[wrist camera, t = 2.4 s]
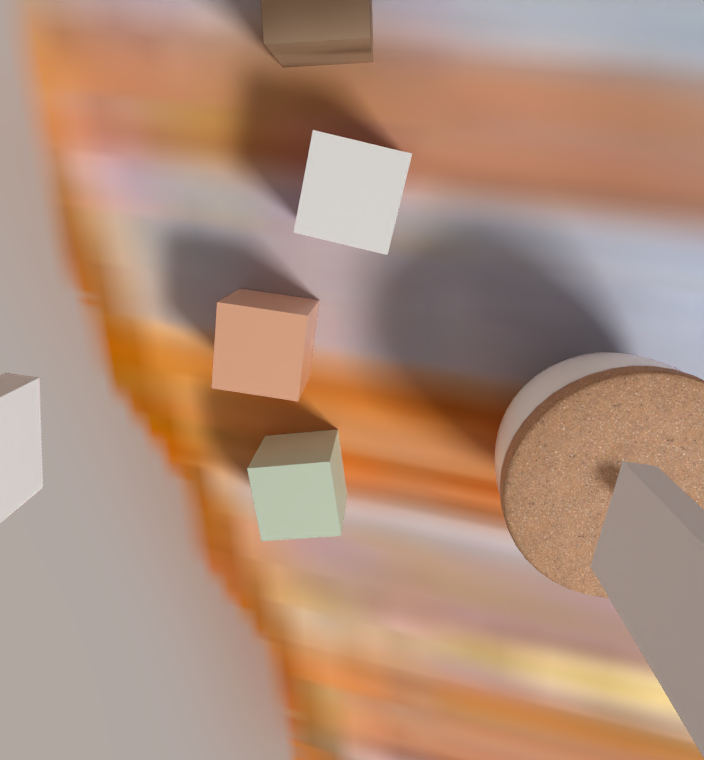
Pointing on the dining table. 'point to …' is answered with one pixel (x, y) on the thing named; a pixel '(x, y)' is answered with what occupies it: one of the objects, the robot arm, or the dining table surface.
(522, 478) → the lidded bowl
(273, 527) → the sage block
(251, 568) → the dining table surface
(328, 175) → the grey block
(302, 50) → the walnut block
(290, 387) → the terracotta block
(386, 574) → the dining table surface
